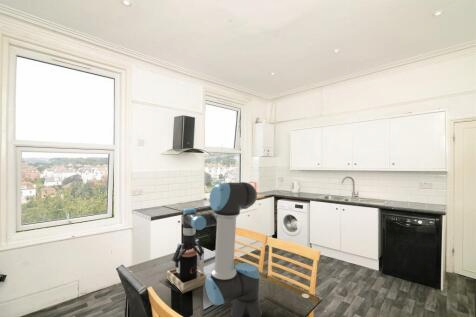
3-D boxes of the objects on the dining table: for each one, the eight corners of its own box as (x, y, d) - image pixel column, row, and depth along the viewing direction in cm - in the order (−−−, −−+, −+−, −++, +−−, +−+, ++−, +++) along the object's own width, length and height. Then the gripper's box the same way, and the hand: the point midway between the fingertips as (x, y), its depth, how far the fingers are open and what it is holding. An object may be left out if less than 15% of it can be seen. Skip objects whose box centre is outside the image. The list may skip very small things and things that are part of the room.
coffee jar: (192, 287, 135) (193, 256, 136) (175, 285, 138) (176, 254, 138) (199, 278, 146) (200, 249, 146) (183, 276, 148) (184, 247, 148)
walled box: (206, 283, 141) (206, 275, 141) (182, 293, 131) (182, 284, 131) (189, 271, 156) (189, 263, 156) (166, 279, 146) (167, 271, 146)
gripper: (203, 228, 153) (202, 261, 153) (166, 236, 137) (166, 273, 136) (209, 231, 148) (209, 265, 147) (172, 239, 131) (171, 278, 131)
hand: (188, 269), depth 142 cm, fingers open, 13 cm apart
